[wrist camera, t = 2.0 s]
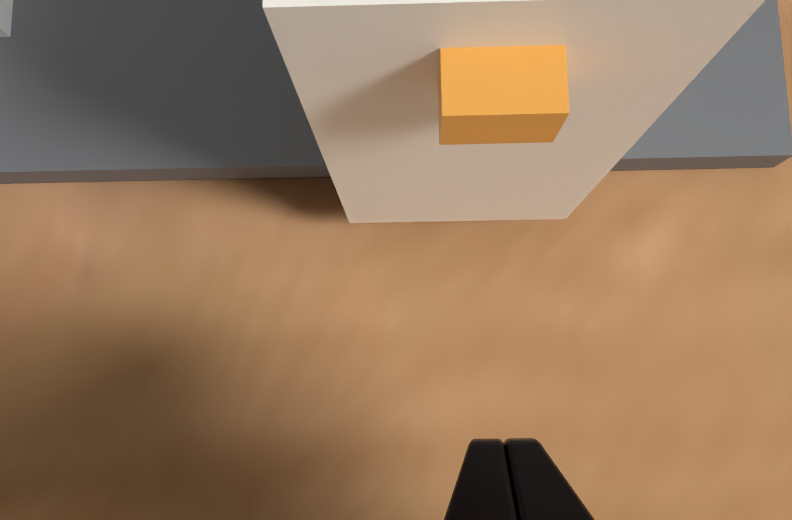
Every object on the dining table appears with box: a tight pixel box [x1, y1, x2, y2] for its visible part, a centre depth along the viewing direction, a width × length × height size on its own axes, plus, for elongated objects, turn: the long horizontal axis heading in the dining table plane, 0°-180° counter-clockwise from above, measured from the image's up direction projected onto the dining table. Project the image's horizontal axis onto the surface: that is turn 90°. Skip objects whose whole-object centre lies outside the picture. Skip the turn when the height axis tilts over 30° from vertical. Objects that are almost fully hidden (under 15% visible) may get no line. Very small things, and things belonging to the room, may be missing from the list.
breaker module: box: [263, 0, 765, 223], centre depth 13 cm, size 7×5×10 cm
